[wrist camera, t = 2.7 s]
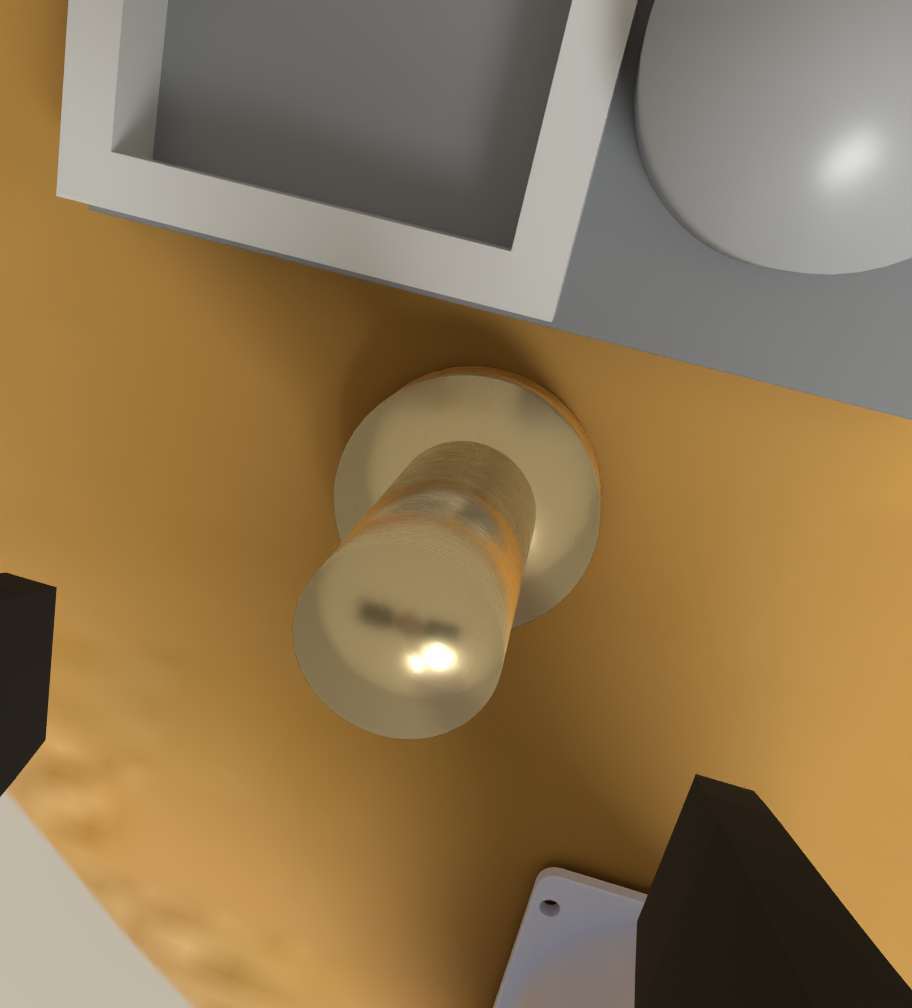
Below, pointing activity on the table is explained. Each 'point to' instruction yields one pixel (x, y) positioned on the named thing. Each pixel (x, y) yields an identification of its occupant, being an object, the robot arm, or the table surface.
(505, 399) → the brass flanged shaft
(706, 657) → the table surface
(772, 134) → the carrier
